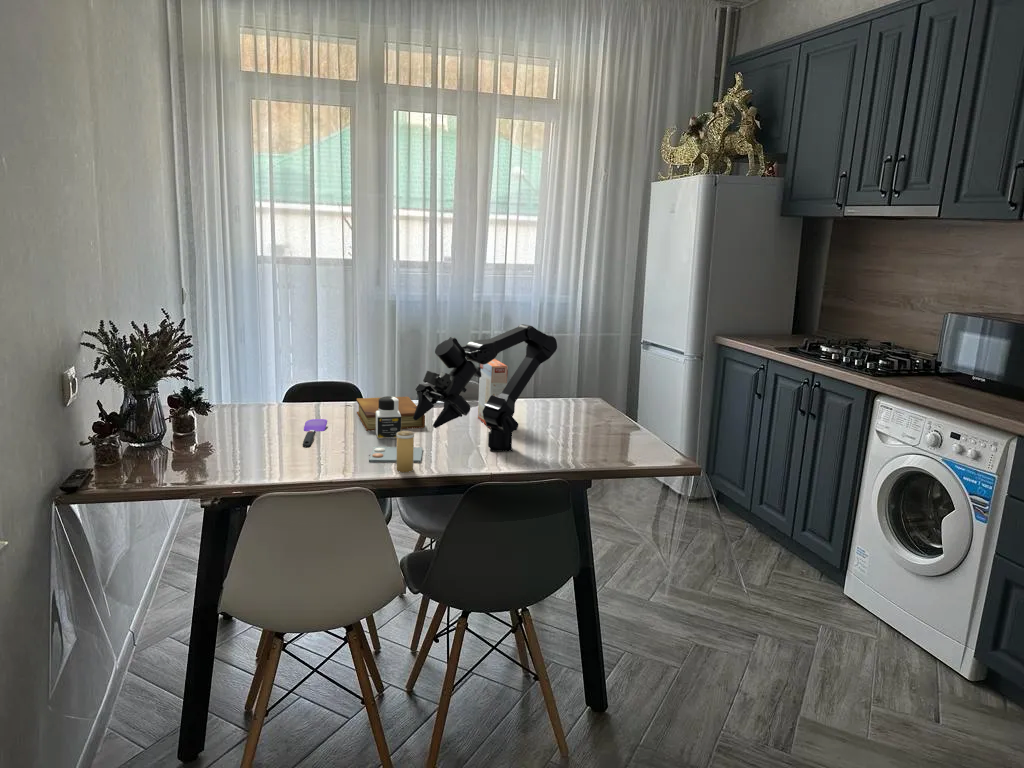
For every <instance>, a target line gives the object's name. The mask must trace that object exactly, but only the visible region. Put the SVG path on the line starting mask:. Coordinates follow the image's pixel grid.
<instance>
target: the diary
mask: <svg viewBox="0 0 1024 768" xmlns="http://www.w3.org/2000/svg"><path fill="white" fill-rule="evenodd" d="M394 397H395V398H397V399H398V400H399V402H398V411H399V412H400V415H401V430H409V429H412V428H413V429H425V427H426V414H424V415H423V416H422V417H420V418H419V419H417V420H414V419H413V416H414V413H415V411H416V408H417V404H415V403H414V401H413V400H412V398H410V397H409V396H394ZM380 398H381V397H363V398H360V397H359V398H358V397H357V398H356V402H357V404H358V411H356V414H357V417H358V418H359V420H360V421H361V423H362V425H363V427H364V429H365V431H366V432H372V431H375V432H376V411H379V410H378V408H379V399H380Z"/></svg>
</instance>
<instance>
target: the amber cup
mask: <svg viewBox="0 0 1024 768" xmlns="http://www.w3.org/2000/svg"><path fill="white" fill-rule="evenodd" d="M396 437H397V438H396V447H397V462H396V471H397V472H399V471H400V472H399V473H410V472H409V471H411V472H413V471H412V470H414V462H413V451H414V447H415V446H414V442H415V441H414V439H415V432H414V431H410V430H401V431H400V432H397V433H396Z"/></svg>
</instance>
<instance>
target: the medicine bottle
mask: <svg viewBox="0 0 1024 768" xmlns="http://www.w3.org/2000/svg"><path fill="white" fill-rule="evenodd" d="M395 397H396V396H382V397H379V398H380V399H379V408H378V410H379V411H376V431H375V434H376V437H377V439H380V440H381V439H397V437H396V433H397V432H400V431H402V429H401V415H400V412H399V411H398V402H399V400H398V399H397V398H395Z"/></svg>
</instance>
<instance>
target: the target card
mask: <svg viewBox="0 0 1024 768" xmlns="http://www.w3.org/2000/svg"><path fill="white" fill-rule="evenodd" d="M422 455H423V447H421V446H420V447H417V446H416V447H415V446H414V451H413V463H417V462H419V463H420V462H421V463H422ZM368 462H370V463H397V446H373V448H372V450H371V454H370V457H369V459H368ZM419 463H418V464H419Z"/></svg>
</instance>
